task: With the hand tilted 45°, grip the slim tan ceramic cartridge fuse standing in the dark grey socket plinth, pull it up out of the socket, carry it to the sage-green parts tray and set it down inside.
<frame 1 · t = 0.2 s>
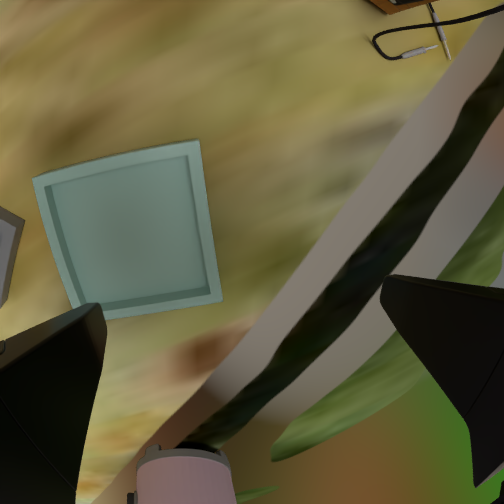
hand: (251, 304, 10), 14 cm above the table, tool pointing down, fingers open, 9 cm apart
parts tray: (130, 233, 22), on the table
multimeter: (417, 6, 19), on the table
blender: (170, 461, 35), on the table
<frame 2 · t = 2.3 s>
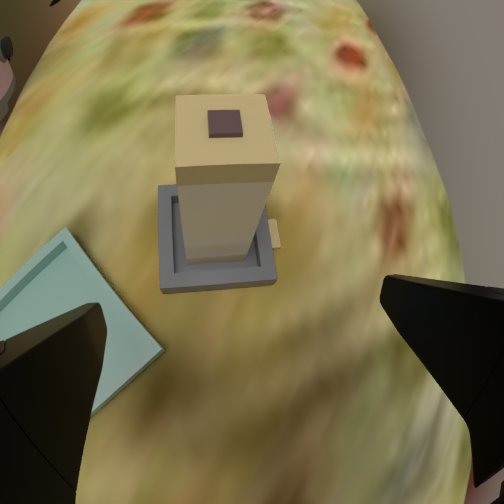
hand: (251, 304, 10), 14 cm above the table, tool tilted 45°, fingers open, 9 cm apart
parts tray: (59, 339, 20), on the table
fuse holder: (213, 238, 25), on the table
fuse: (213, 236, 24), resting on fuse holder
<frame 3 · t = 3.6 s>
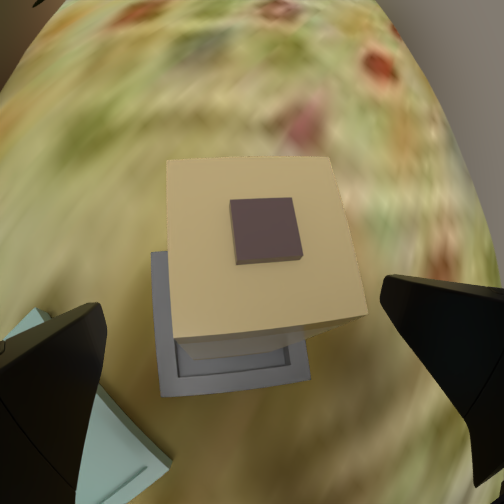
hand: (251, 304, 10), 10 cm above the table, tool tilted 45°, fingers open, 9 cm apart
parts tray: (44, 440, 14), on the table
fuse holder: (226, 321, 19), on the table
fuse: (226, 320, 18), resting on fuse holder
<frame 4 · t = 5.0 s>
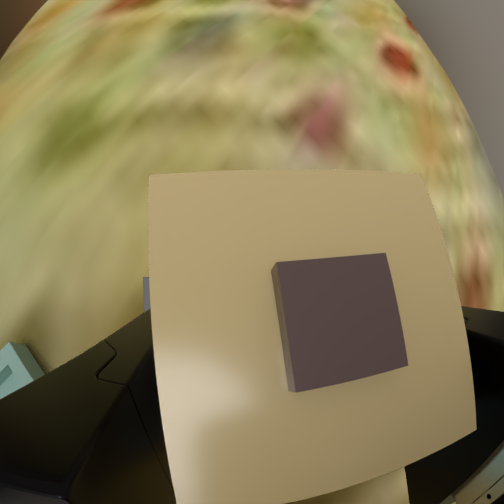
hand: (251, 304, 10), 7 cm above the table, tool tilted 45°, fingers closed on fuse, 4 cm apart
parts tray: (31, 485, 11), on the table
fuse: (237, 359, 15), resting on fuse holder, touching gripper
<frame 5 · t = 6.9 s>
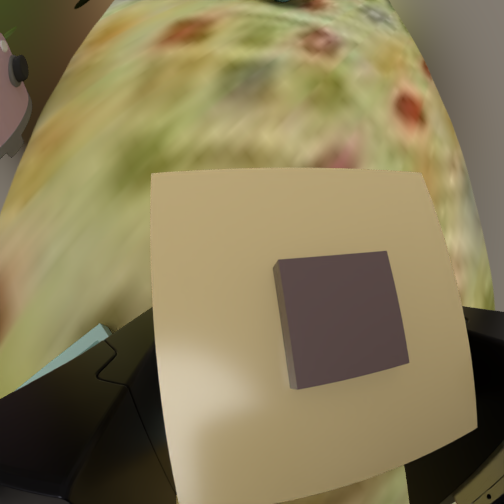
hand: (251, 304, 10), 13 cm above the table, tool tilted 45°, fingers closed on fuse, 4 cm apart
parts tray: (97, 436, 18), on the table
blender: (2, 132, 25), on the table
fuse: (237, 358, 15), point 7 cm above the table, touching gripper
when the fingers open (8 cm above the table, at t = 9.1 s): fuse drops 1 cm, resting on parts tray.
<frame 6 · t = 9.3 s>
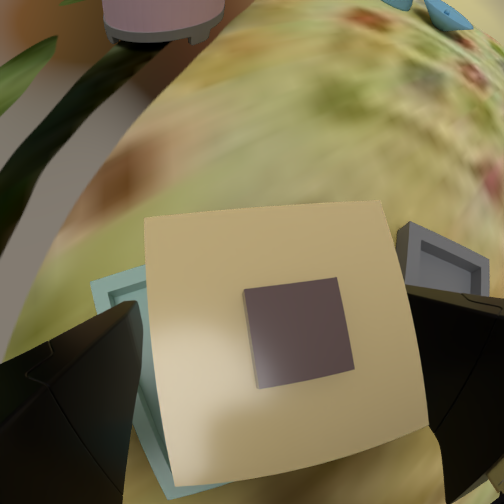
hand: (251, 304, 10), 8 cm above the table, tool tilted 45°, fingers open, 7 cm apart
parts tray: (233, 359, 16), on the table
fuse holder: (437, 301, 19), on the table
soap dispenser: (419, 17, 39), on the table
blender: (179, 24, 27), on the table
fuse: (236, 358, 16), point 1 cm above the table, touching parts tray
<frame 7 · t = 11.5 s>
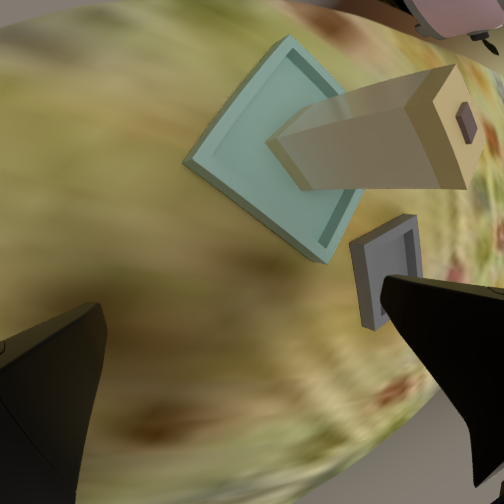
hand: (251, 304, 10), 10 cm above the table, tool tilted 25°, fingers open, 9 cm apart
parts tray: (295, 148, 22), on the table
fuse holder: (385, 268, 28), on the table
blender: (419, 12, 29), on the table
fuse: (301, 148, 21), point 1 cm above the table, touching parts tray
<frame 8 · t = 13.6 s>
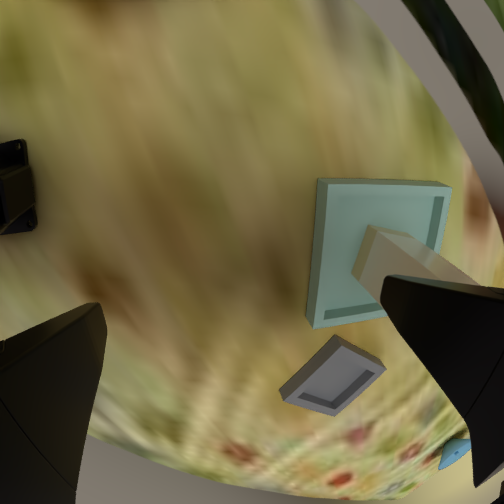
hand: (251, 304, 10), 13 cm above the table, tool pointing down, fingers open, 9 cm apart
parts tray: (376, 248, 25), on the table
fuse holder: (332, 375, 31), on the table
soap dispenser: (461, 430, 52), on the table
fuse: (380, 252, 25), point 1 cm above the table, touching parts tray
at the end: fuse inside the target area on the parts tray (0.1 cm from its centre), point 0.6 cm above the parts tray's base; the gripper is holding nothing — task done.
